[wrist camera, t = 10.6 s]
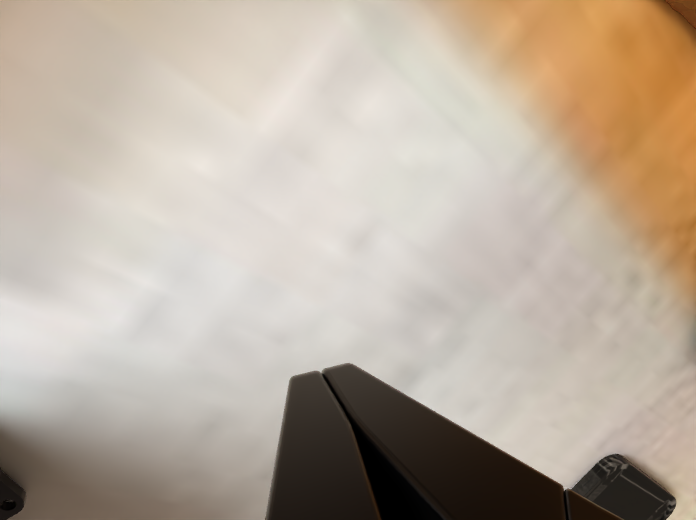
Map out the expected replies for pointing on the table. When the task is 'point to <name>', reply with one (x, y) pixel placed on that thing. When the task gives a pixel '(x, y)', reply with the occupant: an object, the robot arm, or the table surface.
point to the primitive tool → (685, 9)
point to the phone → (625, 490)
